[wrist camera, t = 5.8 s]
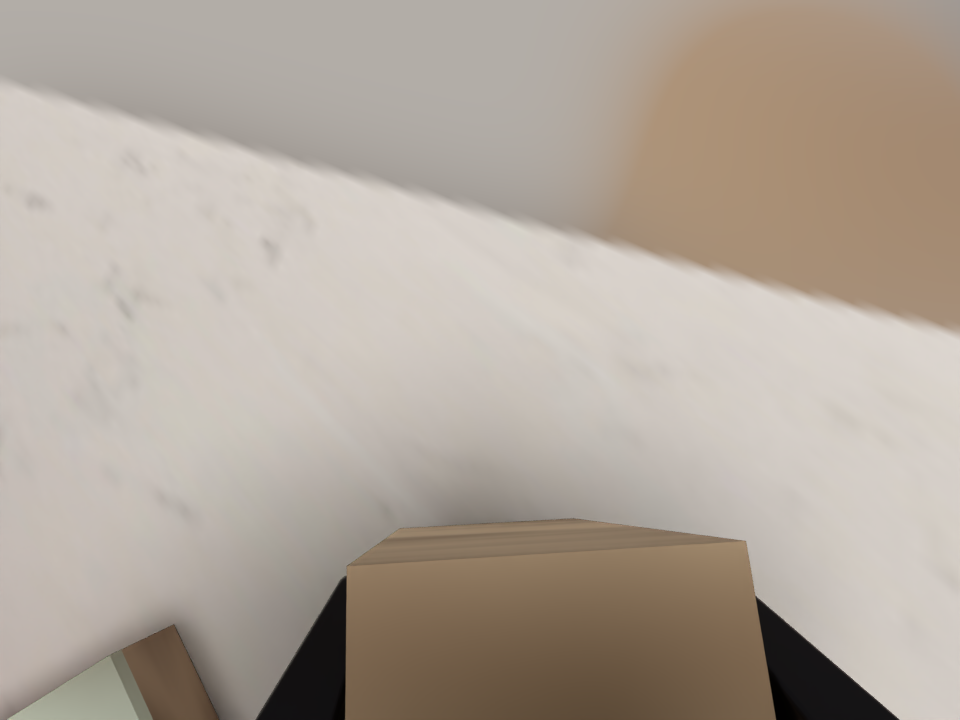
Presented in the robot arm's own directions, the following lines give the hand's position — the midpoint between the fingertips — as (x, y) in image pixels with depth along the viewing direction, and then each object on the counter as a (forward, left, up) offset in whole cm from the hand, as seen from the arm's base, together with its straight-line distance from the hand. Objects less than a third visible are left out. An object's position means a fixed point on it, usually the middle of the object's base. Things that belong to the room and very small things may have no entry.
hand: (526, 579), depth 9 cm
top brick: (-1, +1, -7) cm, 7 cm away
